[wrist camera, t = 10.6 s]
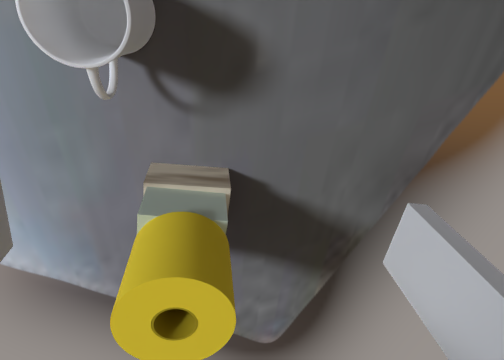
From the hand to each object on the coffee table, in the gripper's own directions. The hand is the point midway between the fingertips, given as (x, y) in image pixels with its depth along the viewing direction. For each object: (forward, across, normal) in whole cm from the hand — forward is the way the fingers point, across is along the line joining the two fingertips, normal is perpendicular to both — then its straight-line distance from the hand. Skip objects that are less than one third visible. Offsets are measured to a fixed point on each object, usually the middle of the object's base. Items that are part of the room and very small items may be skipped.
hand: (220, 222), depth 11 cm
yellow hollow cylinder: (+20, -1, -17) cm, 26 cm away
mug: (+32, -10, +2) cm, 34 cm away
